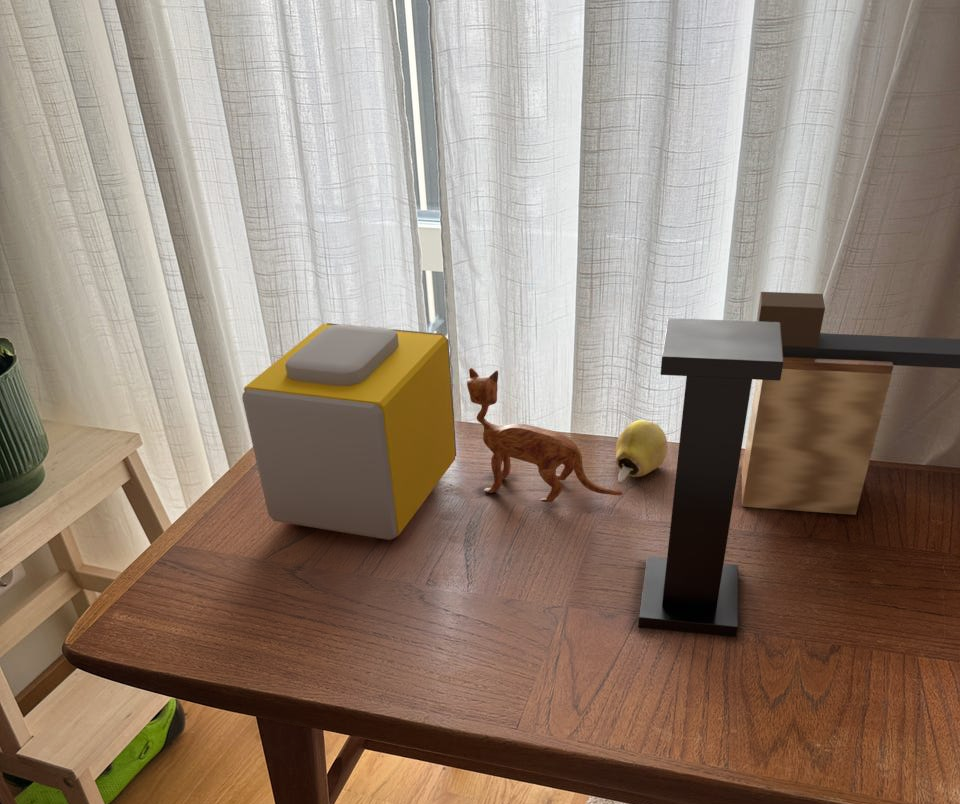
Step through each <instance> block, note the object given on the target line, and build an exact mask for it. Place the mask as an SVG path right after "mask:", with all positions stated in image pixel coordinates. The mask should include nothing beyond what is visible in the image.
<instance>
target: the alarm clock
mask: <svg viewBox="0 0 960 804" xmlns="http://www.w3.org/2000/svg"><path fill="white" fill-rule="evenodd" d="M449 340H450V339H448V338H447V337H446V335H444V334H443V333H439V332H429V331H416V330H407V329H406V330H405V329H395V328H388V327H380V326H371V325H370V326H369V325H358V324H349V323H348V324H347V323H330V322H327V323H326V324H324V323H322V324H321V325H319V326H318V327H317V328H316V329H314V330H313V331H312V332H311V333H310V334H308V335H306V337H304V338H303V339H302V340H301V341H300V342H298V343H297V344H296V345H294V347H292V348H290V350H288V351H287V352H286V353H285V354H284V355H282V356H281V357H280V358H279V359H277V360H276V361H275V362H273V363H272V364H271V365H269V367H267V368H266V369H265V370H264V371H262V372H261V373H260V374H259V375H258V376H257V377H255V378H254V379H253V380H251V381H250V382H249V383H248V384H247V385H245V386H244V387H243V391H244V392H243V393H242V397H241V400H242V403H243V407H244V413H245V417H246V423H247V426H248V430H249V435H250V439H251V443H252V444H251V445H252V447H253V452H254V457H255V460H256V465H257V470H258V475H259V479H260V483H261V488H262V493H263V497H264V501H265V506H266V511H267V514H268V516H269V517H270V518H271V519H272V520H273V522H278V523H285V524H289V525H290V524H291V525H297V526H303V527H309V528H315V529H321V530H327V531H331V532H339V533H344V534H352V535H357V536H362V537H363V536H364V537H369V538H374V539H375V538H376V539H381V540H386V541H387V540H388V541H390V540H393V539H395V538H397V537H398V536H400V535H401V533H402V532H403V531H404V529H405V528H406V526H408V524H409V523H410V521H411V520H412V518H413V517H414V516H415V514H416V513H417V512H418V510H419V509H420V507H421V506H422V505H423V504H424V502H425V501H426V500H427V498H428V497H429V495H430V494H431V493H432V492H433V490H434V488H435V487H436V486H437V485H438V483H439V482H440V481H441V479H442V478H443V476H444V475H445V474H446V472H447V471H448V470H449V469H450V467H451V466H452V464H453V463H454V461H456V457H457V442H456V441H457V440H456V430H455V429H456V427H455V425H456V424H455V412H454V411H455V409H454V397H453V396H454V395H453V383H452V382H453V381H452V368H451V367H452V366H451V355H450V353H451V352H450V341H449Z"/></svg>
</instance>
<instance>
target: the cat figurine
mask: <svg viewBox="0 0 960 804" xmlns="http://www.w3.org/2000/svg"><path fill="white" fill-rule="evenodd" d="M468 373H469V377H468V379H467V381H466V387H467V391H468V394H469V399H470V402H471V403H473V404H476V405H479V406H481V408H480V410H479V411H478V413H477V415H476V420H477V422H479V424H481V425H482V426H483V431H482V441H483V443H484V445H485V446H486V447H487V448H488V449H489V450H490V451H491V452H492V453H493V454H492V456H491V461H490V467H491V471H492V475H493V483H492V485H491V487H485V488H484V491H483V492H484V493H488V494H493V493H496V492H498V491H499V490H500V489H501V487H502V485H503V480H504V479H507V478H508V476H509V475H510V473H511V467H512V466H511V464H512V463H511V458H512V459H515V460H518V461H523V462H526V463H530V464H532V465H536V466H537V471H538V474H539V475H540V477H541V479H542V480H543V481H544V482H545V484H547V485H548V486H550V487H551V490H550V491H549V492H548V494H547V496H546V497H542V498H540V499H539V501H541V502H543V503H553V502H554V501H555V500H556V498H557V497H559V495H560V494H562V492H563V489H564V487H565V486H564V484H563V483H562V482H561V481H565V480H566V479H567V478H568V477H569V476H570V475H571V474H572V472H574V473H575V476H576V478H577V479H578V481H579V483H580V484H581V485H582V486H583V487H584V488H585V489H588V490H589V491H591V492H594V493H598V494H602V495H609V496H622V495H624V493H623V491H622V490H621V489H617V488H610V487H606V486H601V485H599V484H596V483H594V482H593V481H591V480H590V479H589V478H588V477H587V475H586V473H585V470H584V467H583V456H582V453H581V451H580V448H579V447H578V446H577V443H575V442H574V440H573V439H571V438H570V437H569V436H568V435H567V434H565V433H561V432H559V431H556V430H551V429H546V428H543V427H539V426H534V425H530V424H526V423H511V424H507V425H503V426H502V425H498V424H495V423H492V422H490V421H488V420H487V419H486V415H487V413H488V411H489V407H490V406H492V405H495V404H496V403H497V401H498V380H499V371H498V370H495V371H494V372H493V373H492V374H491V375H490V376H480V375H479V374H478V372H477V371H476V370H475V369H474V368H473V367H470V368H469V369H468ZM502 464H503V467H502ZM562 465H563V468H562V469H561V472H560V473H557V469H558V468H559V467H560V466H562Z"/></svg>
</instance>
